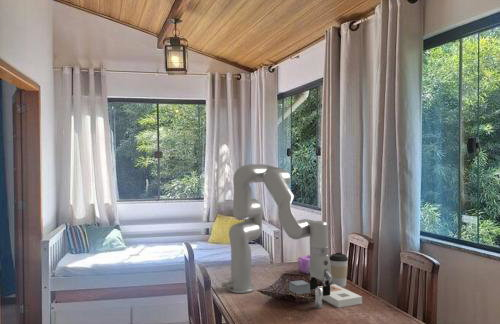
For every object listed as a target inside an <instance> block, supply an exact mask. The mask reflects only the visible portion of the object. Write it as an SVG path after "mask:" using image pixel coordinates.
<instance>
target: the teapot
mask: <svg viewBox="0 0 500 324" xmlns="http://www.w3.org/2000/svg"><path fill="white" fill-rule="evenodd" d="M296 260H297V265H298V267H297V268H298V269H297V270H298V271H299V272H301V274H307V276H309V275H308V267H309V265H310V254H307V255H304V256H299V257H298V258H297V259H296Z"/></svg>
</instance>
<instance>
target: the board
mask: <svg viewBox="0 0 500 324" xmlns="http://www.w3.org/2000/svg"><path fill="white" fill-rule="evenodd" d="M323 286H324V285H321V286H319V287H321V288H322V301H323V300H324V301H325V302H327V303H328V304H331V305H333V306H334V307H336V308H338V309H340V308H345V307H350V306H356V305H362V304H363V296H361V295H359V294H357V293H355V292H353V291H350V290H348V289H346V288H344V287H340V286H338V285H335V284H333V285H332V284H331V285H330V295H328V296H323Z"/></svg>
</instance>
